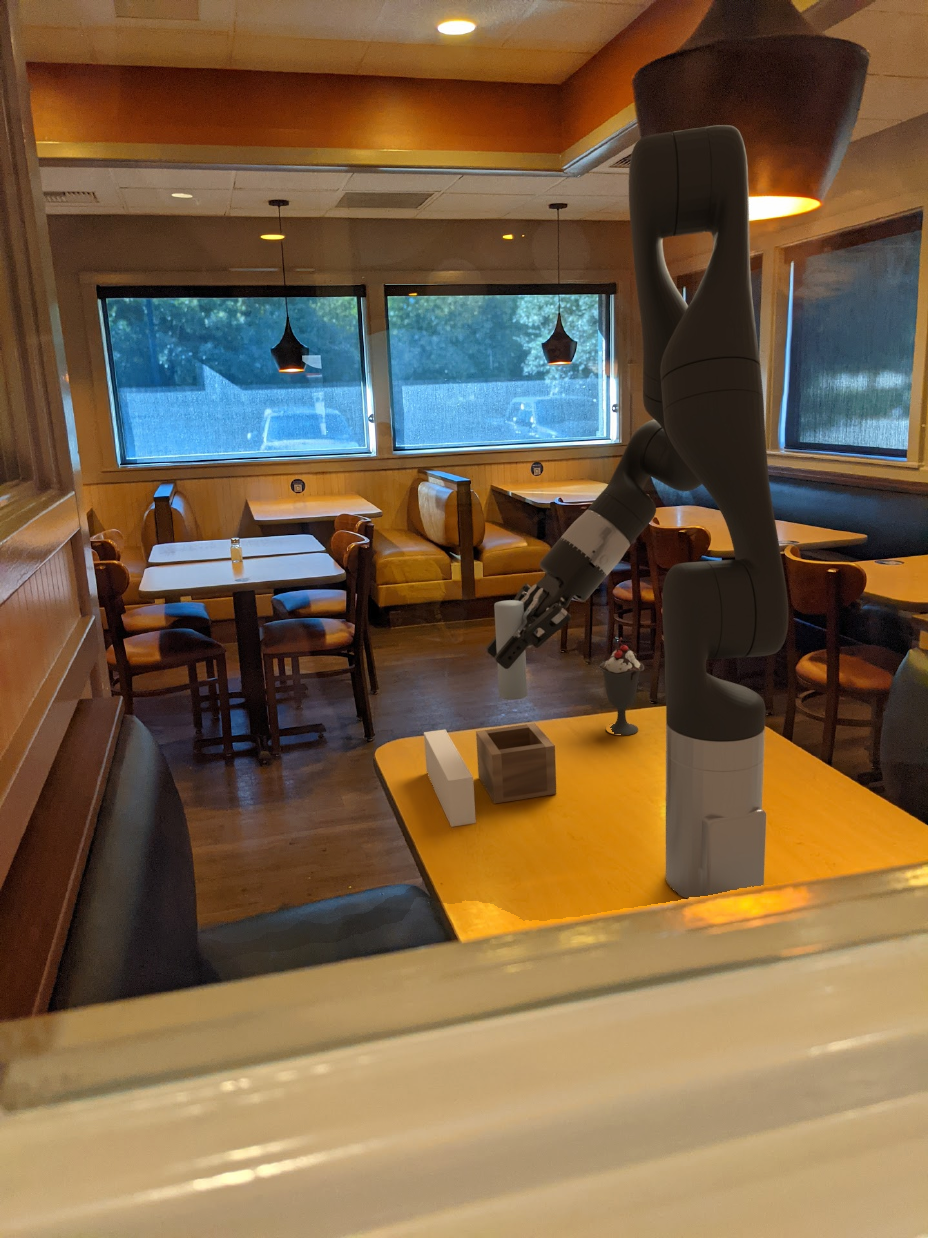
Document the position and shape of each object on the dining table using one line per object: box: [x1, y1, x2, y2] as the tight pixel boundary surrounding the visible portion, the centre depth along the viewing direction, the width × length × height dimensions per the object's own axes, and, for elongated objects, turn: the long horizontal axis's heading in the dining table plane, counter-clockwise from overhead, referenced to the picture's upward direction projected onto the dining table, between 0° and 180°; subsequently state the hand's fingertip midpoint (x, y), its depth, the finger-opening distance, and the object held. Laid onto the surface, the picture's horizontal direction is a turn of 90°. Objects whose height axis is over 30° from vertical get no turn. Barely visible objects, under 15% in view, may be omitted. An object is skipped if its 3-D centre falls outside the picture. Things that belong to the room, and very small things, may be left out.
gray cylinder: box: [493, 599, 528, 701], centre depth 104 cm, size 4×4×12 cm
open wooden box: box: [475, 722, 557, 804], centre depth 108 cm, size 8×8×7 cm
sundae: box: [598, 637, 645, 737], centre depth 124 cm, size 7×7×15 cm
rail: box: [423, 729, 477, 828], centre depth 106 cm, size 16×3×6 cm, turn 13°
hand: (496, 659), depth 104 cm, fingers closed on gray cylinder, 3 cm apart
